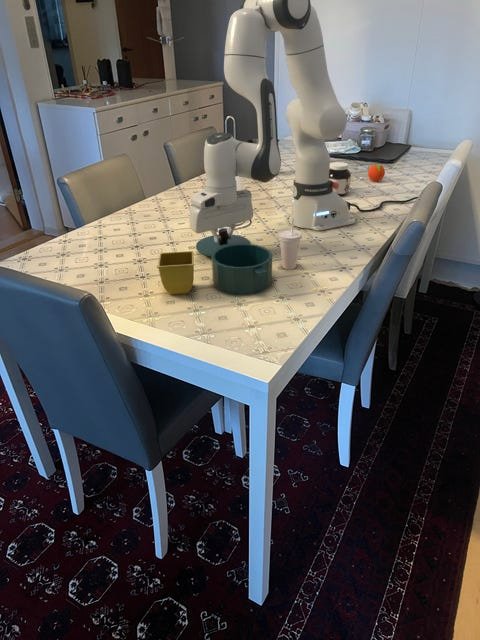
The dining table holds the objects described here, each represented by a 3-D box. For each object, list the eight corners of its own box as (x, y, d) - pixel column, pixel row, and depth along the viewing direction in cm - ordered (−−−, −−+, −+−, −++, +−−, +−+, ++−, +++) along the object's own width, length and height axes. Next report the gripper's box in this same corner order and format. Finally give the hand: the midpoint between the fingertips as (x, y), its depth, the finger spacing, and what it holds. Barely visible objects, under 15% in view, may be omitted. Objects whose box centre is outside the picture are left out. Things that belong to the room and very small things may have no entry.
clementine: (386, 184, 205) (388, 166, 202) (369, 184, 205) (371, 167, 202) (381, 178, 212) (383, 162, 208) (365, 179, 212) (367, 162, 209)
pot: (247, 260, 142) (247, 236, 138) (289, 289, 126) (289, 262, 122) (199, 273, 135) (197, 248, 132) (236, 305, 120) (235, 277, 116)
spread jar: (336, 198, 189) (338, 168, 183) (313, 192, 197) (315, 163, 191) (355, 192, 196) (358, 162, 190) (333, 186, 204) (335, 158, 197)
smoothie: (299, 271, 135) (301, 223, 128) (276, 270, 136) (277, 222, 129) (301, 262, 140) (303, 215, 133) (279, 260, 141) (280, 214, 134)
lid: (234, 234, 158) (233, 217, 155) (261, 251, 145) (261, 233, 142) (187, 244, 151) (185, 227, 148) (211, 264, 138) (210, 245, 135)
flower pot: (163, 283, 131) (159, 252, 126) (196, 281, 131) (193, 250, 127) (161, 299, 123) (157, 266, 119) (196, 297, 124) (193, 264, 119)
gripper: (244, 185, 147) (245, 229, 154) (185, 198, 137) (188, 244, 144) (257, 190, 142) (257, 235, 149) (196, 204, 132) (199, 251, 139)
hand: (223, 240), depth 147 cm, fingers closed on lid, 2 cm apart
